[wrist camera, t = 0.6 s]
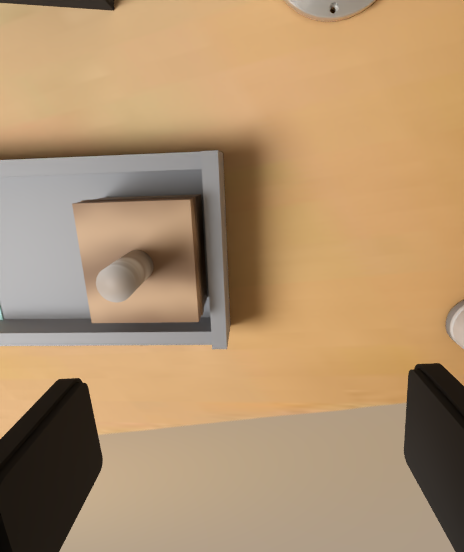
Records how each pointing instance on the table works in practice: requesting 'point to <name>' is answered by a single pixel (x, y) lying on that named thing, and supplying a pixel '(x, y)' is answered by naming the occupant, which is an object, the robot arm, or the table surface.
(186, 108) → the table surface
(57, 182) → the bay
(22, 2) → the coffee maker
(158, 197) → the knobbed wooden box
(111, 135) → the table surface
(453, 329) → the travel mug
